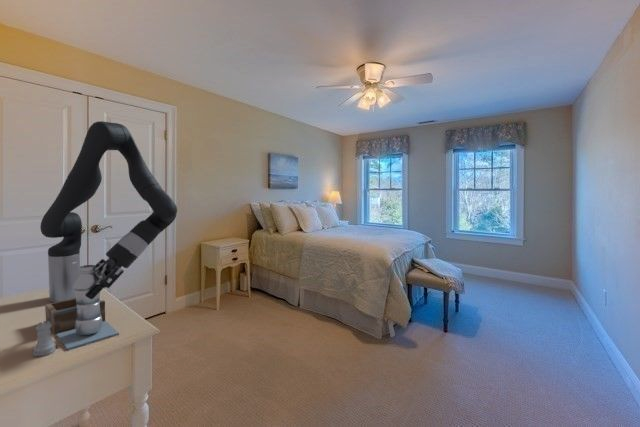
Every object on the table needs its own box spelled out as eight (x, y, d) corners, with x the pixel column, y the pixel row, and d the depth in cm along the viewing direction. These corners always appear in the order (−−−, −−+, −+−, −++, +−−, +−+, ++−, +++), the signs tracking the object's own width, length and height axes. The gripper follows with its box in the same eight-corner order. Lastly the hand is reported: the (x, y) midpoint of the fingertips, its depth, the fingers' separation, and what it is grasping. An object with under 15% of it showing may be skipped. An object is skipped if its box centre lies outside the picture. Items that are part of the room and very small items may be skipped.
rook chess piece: (29, 358, 75) (28, 328, 75) (37, 349, 79) (36, 320, 79) (51, 355, 77) (51, 325, 77) (58, 347, 81) (58, 318, 81)
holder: (45, 322, 95) (45, 301, 94) (93, 311, 105) (92, 292, 104) (55, 335, 87) (54, 312, 87) (105, 321, 97) (105, 301, 96)
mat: (56, 335, 87) (56, 333, 87) (105, 322, 96) (105, 320, 96) (67, 350, 80) (67, 348, 80) (118, 334, 89) (118, 332, 89)
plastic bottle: (88, 339, 84) (86, 269, 83) (68, 336, 86) (66, 268, 84) (108, 329, 91) (107, 264, 89) (90, 327, 92) (88, 262, 91)
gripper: (110, 239, 97) (65, 281, 89) (126, 245, 88) (79, 293, 80) (128, 253, 101) (87, 294, 93) (146, 260, 92) (103, 306, 84)
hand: (83, 293), depth 86 cm, fingers open, 8 cm apart
